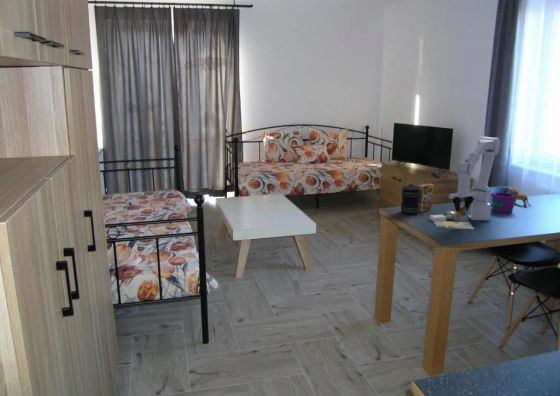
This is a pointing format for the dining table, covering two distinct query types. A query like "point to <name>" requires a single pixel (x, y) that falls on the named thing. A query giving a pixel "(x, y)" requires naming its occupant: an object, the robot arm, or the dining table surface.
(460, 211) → the walnut cylinder
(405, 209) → the storage jar
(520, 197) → the lion figurine
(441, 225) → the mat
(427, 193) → the candy box
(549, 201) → the dining table surface
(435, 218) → the soap bar
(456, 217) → the cork
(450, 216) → the tin
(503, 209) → the mug
